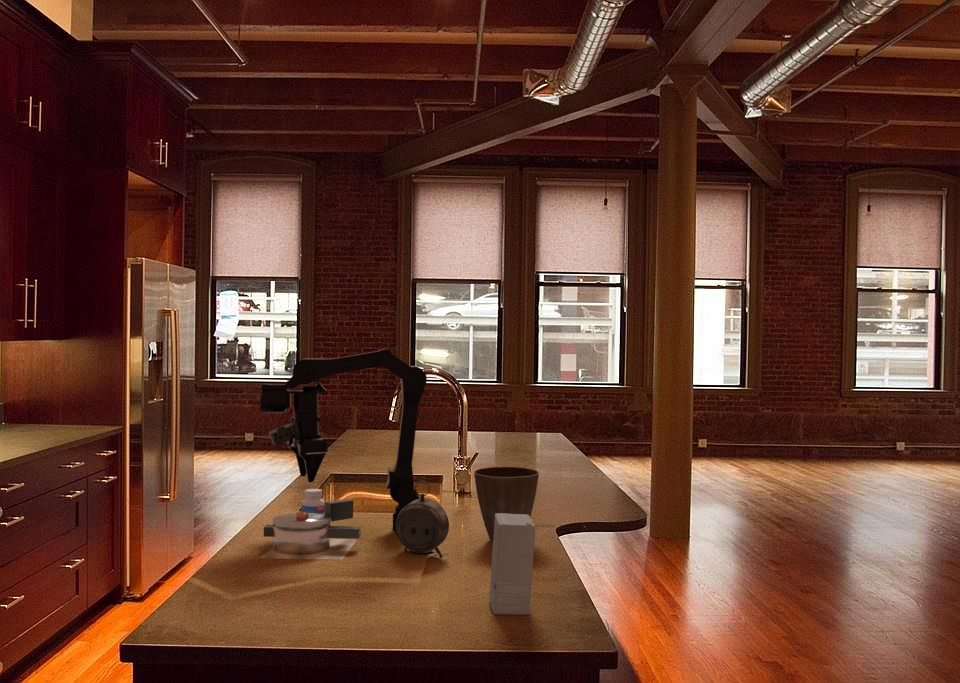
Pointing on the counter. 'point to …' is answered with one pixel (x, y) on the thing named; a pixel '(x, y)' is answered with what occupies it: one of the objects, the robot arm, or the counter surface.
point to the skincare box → (512, 564)
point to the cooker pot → (308, 538)
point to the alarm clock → (422, 525)
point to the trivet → (334, 553)
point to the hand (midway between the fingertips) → (306, 479)
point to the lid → (316, 516)
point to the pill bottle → (313, 502)
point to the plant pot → (505, 492)
